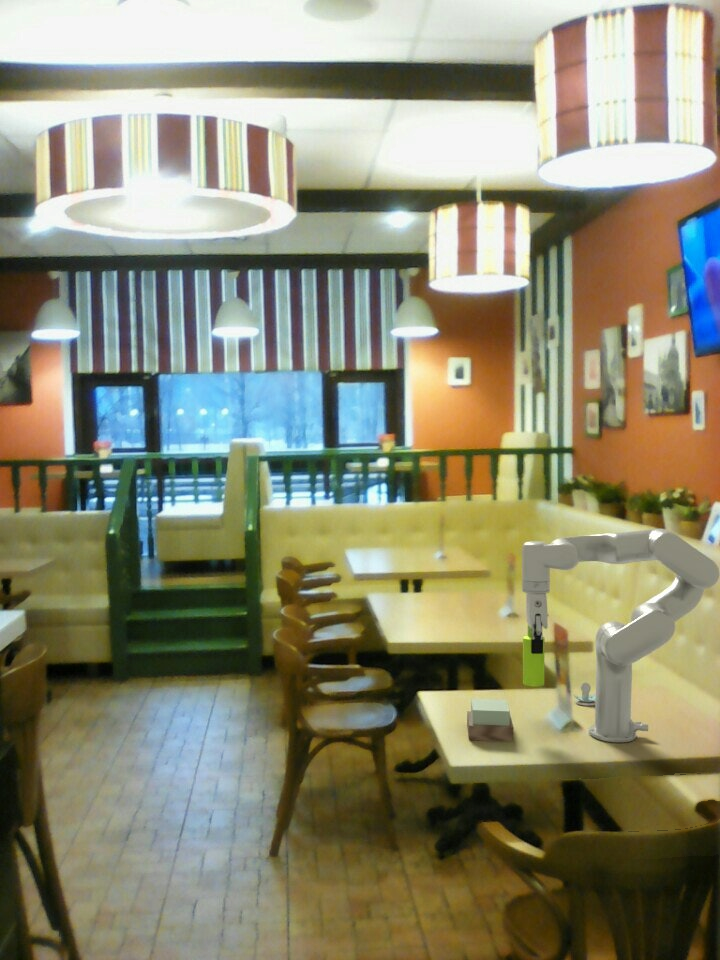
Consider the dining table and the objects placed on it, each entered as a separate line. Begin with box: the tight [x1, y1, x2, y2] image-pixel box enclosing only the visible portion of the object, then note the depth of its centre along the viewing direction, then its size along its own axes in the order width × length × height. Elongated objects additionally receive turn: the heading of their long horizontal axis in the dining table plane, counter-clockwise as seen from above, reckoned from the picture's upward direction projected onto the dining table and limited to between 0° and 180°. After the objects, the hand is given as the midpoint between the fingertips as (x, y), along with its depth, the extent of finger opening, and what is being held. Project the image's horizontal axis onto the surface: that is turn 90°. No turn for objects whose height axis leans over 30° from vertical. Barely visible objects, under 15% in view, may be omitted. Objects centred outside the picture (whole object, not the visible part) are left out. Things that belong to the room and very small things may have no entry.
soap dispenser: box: [522, 613, 549, 688], centre depth 243 cm, size 6×7×20 cm
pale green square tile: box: [470, 698, 511, 726], centre depth 243 cm, size 10×10×4 cm
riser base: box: [466, 710, 514, 743], centre depth 244 cm, size 12×12×4 cm
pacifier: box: [573, 682, 596, 707], centre depth 270 cm, size 7×6×6 cm
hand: (535, 649), depth 243 cm, fingers closed on soap dispenser, 5 cm apart
